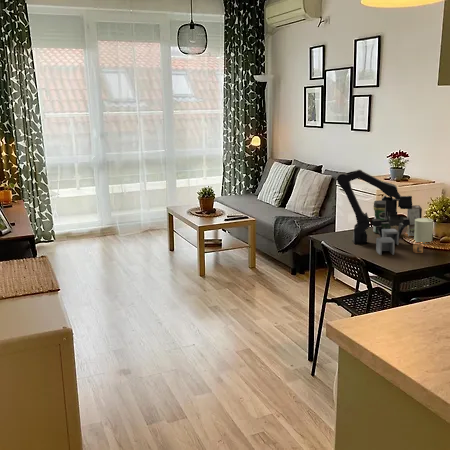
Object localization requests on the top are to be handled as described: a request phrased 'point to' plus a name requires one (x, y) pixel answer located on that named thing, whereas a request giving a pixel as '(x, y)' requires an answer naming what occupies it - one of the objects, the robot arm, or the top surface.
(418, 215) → the coffee box
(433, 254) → the top surface
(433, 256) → the top surface
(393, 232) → the grey arch block
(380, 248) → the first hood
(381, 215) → the coffee jar
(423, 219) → the can
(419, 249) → the letter cube
